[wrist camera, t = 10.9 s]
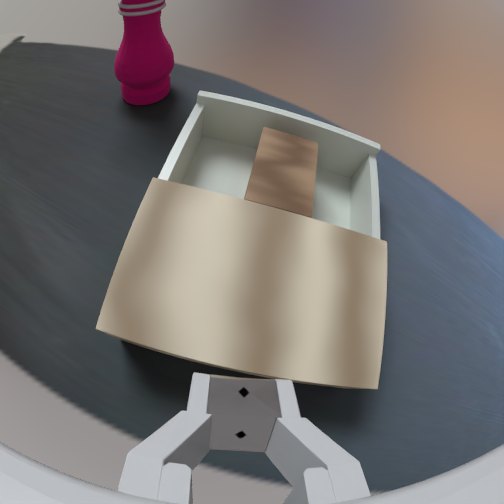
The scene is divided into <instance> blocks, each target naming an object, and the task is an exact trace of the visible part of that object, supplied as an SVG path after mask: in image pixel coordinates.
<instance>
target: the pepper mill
mask: <svg viewBox="0 0 504 504" xmlns="http://www.w3.org/2000/svg"><path fill="white" fill-rule="evenodd" d="M118 5H119V11H118V12H119V14H120V15H123V20H124V35H123V40H122V43H121V45H120V48H119V50H118V52H117V55H116V59H115V64H114V67H115V75H116V77H117V79H118V80H119V81H120V82H122V84H121V90H122V97H123V99H124V100H125V101H126V102H127V103H130V104H132V105H148V104H152V103H155V102H158V101H160V100H161V99H163V98H164V97H165V96H166V95H167V94H168V93H169V91H170V76H169V73H170V72H171V71H172V69H173V67H174V57H173V52H172V49H171V46H170V45H169V43H168V41H167V39H166V38H165V36H164V34H163V32H162V28H161V24H160V23H161V22H160V15H161V9H163V8H164V7H165V6H166V3H165V0H121V1H120V2H119V3H118Z"/></svg>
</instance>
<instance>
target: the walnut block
mask: <svg viewBox="0 0 504 504" xmlns="http://www.w3.org/2000/svg"><path fill="white" fill-rule="evenodd" d="M317 154H318V143H317V142H314V141H311V140H308V139H305V138H301V137H298V136H295V135H291V134H288V133H285V132H281V131H278V130H274V129H270V128H267V127H263V131H262V134H261V138H260V141H259V145H258V148H257V152H256V155H255V159H254V162H253V166H252V170H251V174H250V178H249V181H248V185H247V189H246V193H245V197H244V199H245V200H248V201H252V202H256V203H260V204H263V205H267V206H271V207H274V208H278V209H281V210H285V211H289V212H292V213H296V214H299V215H303V216H306V217H309V218H312V210H313V200H314V189H315V178H316V166H317Z"/></svg>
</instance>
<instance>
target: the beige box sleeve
mask: <svg viewBox="0 0 504 504" xmlns="http://www.w3.org/2000/svg"><path fill="white" fill-rule="evenodd" d="M386 291H387V241H383V240H380V239H377V238H374V237H371V236H368V235H365V234H362V233H359V232H356V231H352V230H349V229H346V228H343V227H339V226H336V225H333V224H330V223H326V222H323V221H320V220H316V219H313V218H309V217H306V216H303V215H299V214H296V213H292V212H289V211H285V210H281V209H278V208H274V207H271V206H267V205H263V204H260V203H256V202H252V201H248V200H245V199H241V198H237V197H233V196H229V195H225V194H221V193H217V192H213V191H209V190H205V189H201V188H197V187H193V186H189V185H184V184H180V183H176V182H171V181H167V180H163V179H158V178H154V177H153V179H152V181H151V183H150V185H149V187H148V190H147V192H146V194H145V196H144V198H143V201H142V203H141V205H140V207H139V210H138V212H137V214H136V217H135V219H134V221H133V224H132V226H131V229H130V231H129V234H128V236H127V239H126V241H125V244H124V246H123V249H122V251H121V254H120V257H119V259H118V262H117V265H116V268H115V270H114V273H113V276H112V279H111V282H110V285H109V288H108V291H107V294H106V297H105V300H104V303H103V306H102V309H101V313H100V316H99V319H98V323H97V326H96V329H98V330H100V331H102V332H104V333H106V334H109V335H111V336H113V337H115V338H118V339H120V340H123V341H126V342H129V343H132V344H135V345H138V346H141V347H144V348H147V349H151V350H154V351H157V352H161V353H164V354H167V355H171V356H175V357H178V358H182V359H186V360H189V361H193V362H197V363H201V364H205V365H209V366H213V367H218V368H222V369H227V370H231V371H236V372H241V373H245V374H250V375H256V376H261V377H266V378H272V379H285V380H291V381H292V382H297V383H304V384H311V385H319V386H327V387H336V388H354V389H378V382H379V375H380V367H381V359H382V350H383V339H384V327H385V312H386Z"/></svg>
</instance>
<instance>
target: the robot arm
mask: <svg viewBox="0 0 504 504" xmlns="http://www.w3.org/2000/svg"><path fill="white" fill-rule="evenodd" d="M210 449H217V450H238V451H254V452H265V453H266V455H267V456H268V457H269V459H270V460H271V461H272V462H273V464H274V465H275V466H276V467H277V468H278V470H279V471H280V472H281V473H282V475H283V476H284V477H285V478H286V479H287V480H288V482H289V483H290V484H291V485H292V486H293V487H294V488H293V490H292V491H291V493H290V494H289V496H288V498H287V499H286V500H285V502H284V503H283V504H504V444H503V445H501V446H499V447H497V448H495V449H494V450H492V451H490V452H488V453H486V454H484V455H482V456H480V457H478V458H476V459H474V460H472V461H470V462H468V463H466V464H464V465H461V466H459V467H457V468H455V469H452V470H450V471H447V472H445V473H442V474H440V475H437V476H435V477H432V478H429V479H427V480H424V481H421V482H418V483H415V484H412V485H409V486H406V487H402V488H399V489H395V490H392V491H388V492H384V493H381V494H376V495H372V496H371V495H370V492H369V489H368V486H367V483H366V480H365V477H364V474H363V471H362V468H361V465H360V463H359V461H358V460H356V459H355V458H354V457H353V456H351V455H350V454H349V453H348V452H346V451H345V450H344V449H343V448H341V447H340V446H339V445H338V444H336V443H335V442H334V441H333V440H331V439H330V438H329V437H328V436H327V435H325V434H324V433H323V432H322V431H321V430H320V429H318V428H317V427H316V426H315V425H314V424H312V423H311V422H310V421H309V420H308V419H307V418H301V416H300V411H299V407H298V403H297V398H296V394H295V390H294V386H293V382H292V381H291V380H285V379H275V380H274V379H253V378H238V377H229V376H220V375H212V374H211V376H210V375H209V374H202V373H195V372H194V373H193V376H192V382H191V388H190V394H189V400H188V406H187V411H180V412H179V413H178V414H177V415H176V416H174V417H173V418H172V419H171V420H169V421H168V422H167V423H166V424H164V425H163V426H162V427H161V428H159V429H158V430H157V431H156V432H154V433H153V434H152V435H151V436H149V437H148V438H147V439H145V440H144V441H143V442H141V443H140V444H139V445H137V446H136V447H135V448H134V449H132V450H131V451H130V452H128V454H127V458H126V461H125V465H124V469H123V472H122V476H121V480H120V483H119V487H118V491H116V490H112V489H109V488H105V487H102V486H99V485H96V484H92V483H90V482H87V481H84V480H81V479H78V478H75V477H73V476H70V475H67V474H65V473H62V472H60V471H58V470H55V469H53V468H50V467H48V466H46V465H44V464H42V463H39V462H37V461H35V460H33V459H31V458H29V457H27V456H25V455H23V454H21V453H19V452H17V451H15V450H14V449H12V448H10V447H8V446H6V445H5V444H3V443H1V442H0V504H193V499H192V475H191V471H192V470H193V469H194V468H195V467H196V466H197V465H198V463H199V462H200V461H201V460H202V459H203V458H204V457H205V455H206V454H207V453H208V452H209V451H210Z"/></svg>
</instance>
